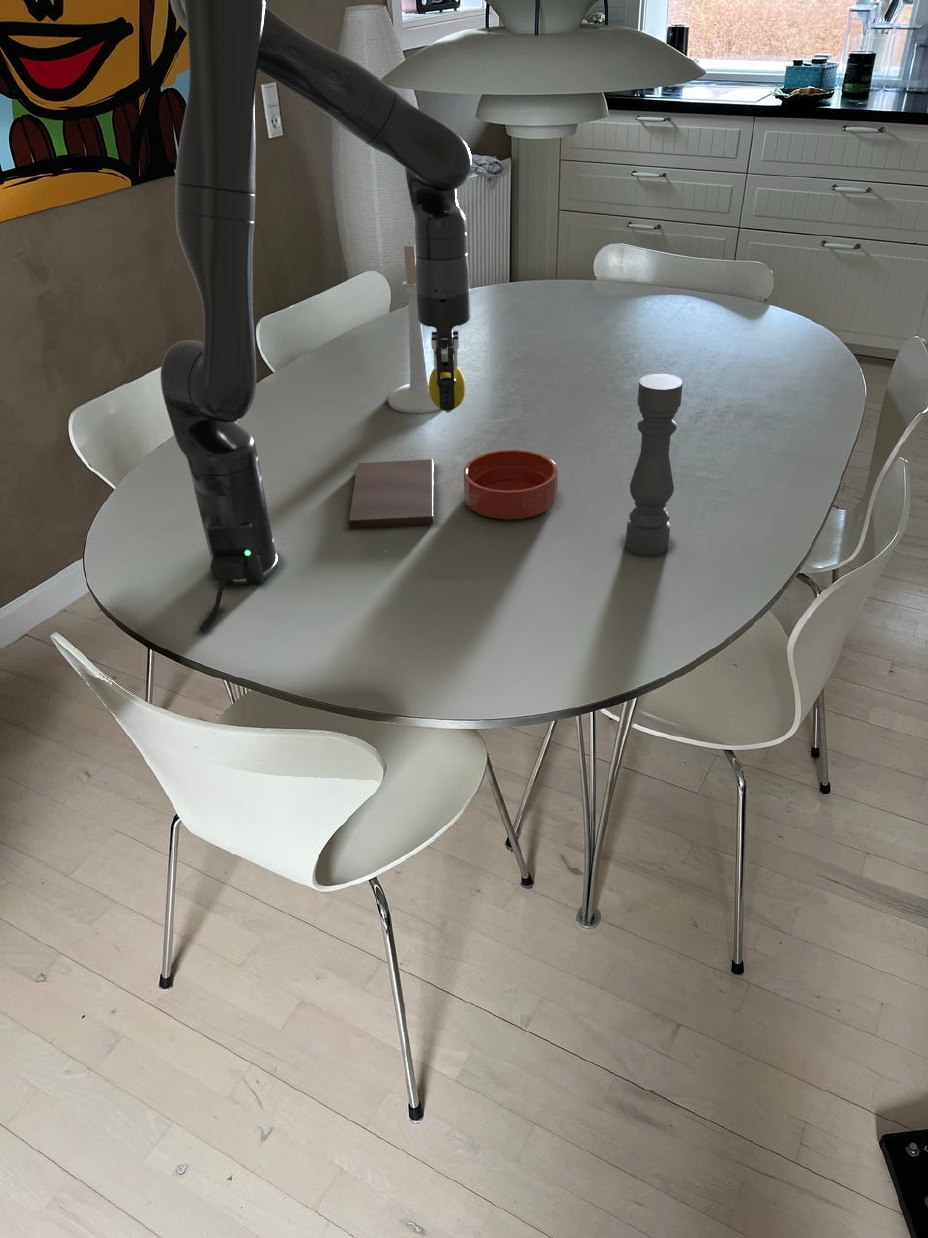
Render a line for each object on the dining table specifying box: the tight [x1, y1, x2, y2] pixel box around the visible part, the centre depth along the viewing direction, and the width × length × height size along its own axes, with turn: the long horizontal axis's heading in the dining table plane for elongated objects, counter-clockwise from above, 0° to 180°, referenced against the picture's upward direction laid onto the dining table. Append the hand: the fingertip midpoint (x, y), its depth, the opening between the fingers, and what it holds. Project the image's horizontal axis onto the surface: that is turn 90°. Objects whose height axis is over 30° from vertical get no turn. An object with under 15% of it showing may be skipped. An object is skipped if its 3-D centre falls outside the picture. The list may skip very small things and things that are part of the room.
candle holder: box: [625, 373, 684, 556], centre depth 129 cm, size 6×6×25 cm
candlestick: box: [387, 242, 441, 414], centre depth 176 cm, size 13×13×30 cm
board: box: [348, 458, 434, 530], centre depth 152 cm, size 20×13×2 cm, turn 2°
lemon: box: [428, 366, 467, 414], centre depth 139 cm, size 6×6×8 cm
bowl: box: [462, 449, 559, 520], centre depth 148 cm, size 15×15×5 cm
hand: (447, 401), depth 140 cm, fingers closed on lemon, 5 cm apart
